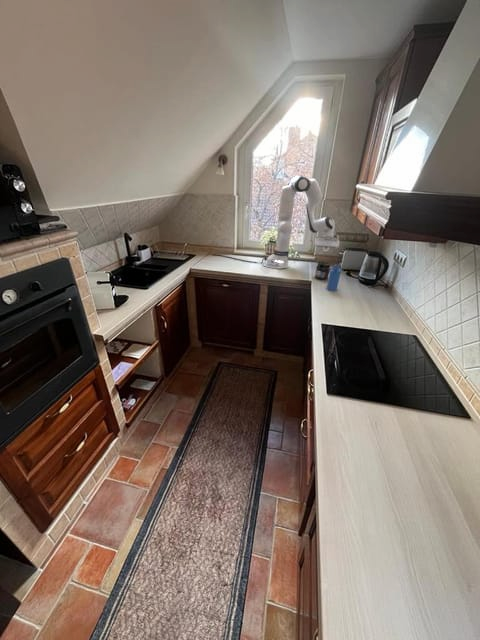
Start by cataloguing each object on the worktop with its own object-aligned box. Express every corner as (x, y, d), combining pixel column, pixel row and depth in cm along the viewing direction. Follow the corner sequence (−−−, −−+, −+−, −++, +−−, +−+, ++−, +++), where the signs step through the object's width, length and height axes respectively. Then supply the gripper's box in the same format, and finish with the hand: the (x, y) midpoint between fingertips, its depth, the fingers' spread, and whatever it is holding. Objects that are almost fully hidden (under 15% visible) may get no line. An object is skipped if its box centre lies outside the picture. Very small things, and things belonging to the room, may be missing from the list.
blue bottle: (326, 290, 182) (331, 265, 173) (326, 286, 187) (331, 263, 178) (336, 291, 180) (342, 267, 171) (336, 288, 186) (341, 264, 177)
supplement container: (327, 276, 206) (330, 262, 200) (328, 281, 198) (331, 266, 192) (314, 275, 208) (316, 260, 202) (314, 279, 200) (317, 264, 194)
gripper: (315, 234, 217) (313, 248, 213) (340, 236, 212) (338, 251, 208) (314, 238, 223) (312, 252, 219) (339, 240, 217) (337, 254, 214)
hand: (325, 251), depth 214 cm, fingers closed
